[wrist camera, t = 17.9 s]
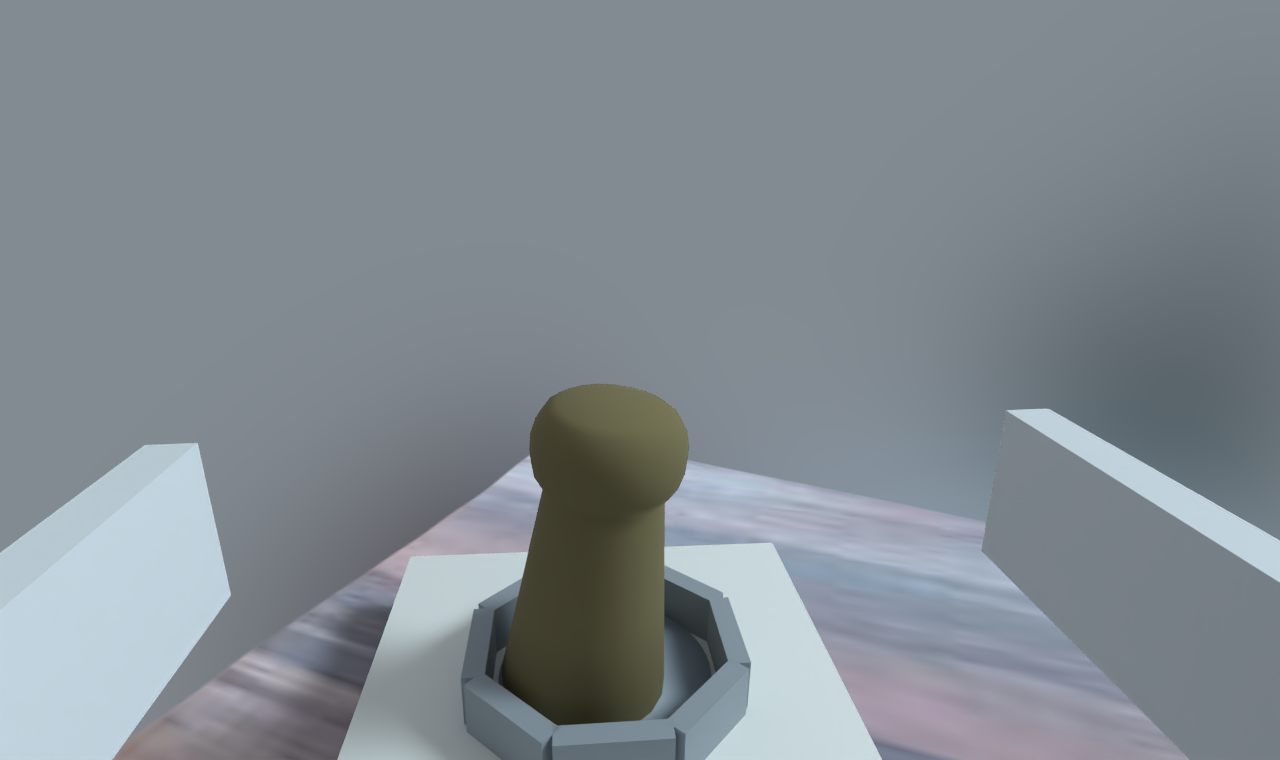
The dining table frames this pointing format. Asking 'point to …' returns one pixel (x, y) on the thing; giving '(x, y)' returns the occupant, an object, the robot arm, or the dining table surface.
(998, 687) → the dining table surface
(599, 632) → the cork
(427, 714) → the base plate
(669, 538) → the dining table surface
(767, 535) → the dining table surface
